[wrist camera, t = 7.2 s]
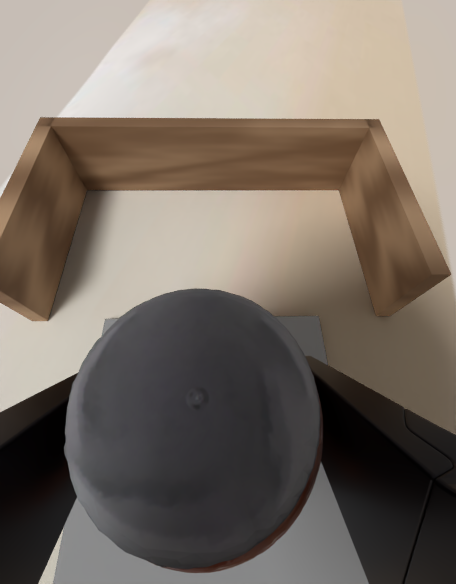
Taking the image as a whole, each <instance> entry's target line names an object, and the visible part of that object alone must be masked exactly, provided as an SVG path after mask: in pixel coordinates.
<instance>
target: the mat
mask: <svg viewBox="0 0 456 584" xmlns="http://www.w3.org/2000/svg"><path fill="white" fill-rule="evenodd" d="M274 317H275V318H276V319H278V320H279V321H280V323H281V324H283V325H284V326H285V327H286V328H287V329H288V330H289V332H290V333H291V335H292V336H293V337H294V339H295V340H296V341H297V343H298V345H299V347H300V348H301V350H302V351H303V353H304V355H305V356H312V357H314V358H316V359H317V360H319V361H321V362H323V363H325V364H326V365H328V362H327V357H326V352H325V346H324V341H323V336H322V331H321V325H320V320H319V316H274ZM117 320H118V319H105V322H104V327H103V332H102V336H103V334H104V333H105V332H106V331H107V330H108V329H109V328H110V327H111V326H112V325H113V324H114V323H115V322H116V321H117ZM53 584H369V583H368V580H367V578H366V575H365V573H364V570H363V568H362V565H361V562H360V560H359V557H358V555H357V552H356V550H355V547H354V545H353V542H352V539H351V537H350V534H349V532H348V529H347V527H346V524H345V522H344V519H343V516H342V514H341V511H340V509H339V506H338V504H337V501H336V499H335V496H334V493H333V491H332V488H331V486H330V483H329V481H328V478H327V476H326V473H325V470H324V468H323V465H322V463H320V467H319V471H318V474H317V478H316V481H315V484H314V487H313V489H312V492H311V494H310V496H309V498H308V500H307V502H306V504H305V506H304V507H303V509H302V511H301V513H300V515H299V516H298V517H297V519H296V520H295V522H294V523H293V524H292V526H291V527H290V528H289V529H288V531H287V532H286V533H285V534H284V535H283V536H282V537H281V538H280V539H278V540H277V541H276V542H275V544H273V545H272V546H271V547H270V548H269V549H267V550H266V551H265V552H263V553H261V554H259V555H258V556H256V557H255V558H253V559H251V560H249V561H247V562H245V563H243V564H240V565H238V566H235V567H233V568H230V569H226V570H222V571H217V572H211V573H185V572H180V571H174V570H170V569H166V568H162V567H160V566H156V565H154V564H152V563H150V562H148V561H146V560H144V559H141V558H139V557H136V556H133V555H131V554H128V553H126V552H124V551H123V550H122V549H120V548H119V547H118V546H117V545H116V544H115V543H114V542H113V541H112V540H111V539H109V538H108V537H107V536H106V535H104V534H103V533H102V532H100V531H99V530H98V529H97V527H96V526H95V524H94V523H93V521H92V520H91V519H90V517H89V516H88V514H87V512H86V510H85V508H84V507H83V506H82V504H81V503H80V502H79V501H78V498H77V499H76V501H75V503H74V505H73V507H72V510H71V512H70V514H69V516H68V518H67V521H66V523H65V525H64V530H63V535H62V540H61V545H60V550H59V555H58V561H57V566H56V571H55V576H54V581H53Z"/></svg>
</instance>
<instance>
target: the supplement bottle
mask: <svg viewBox="0 0 456 584" xmlns="http://www.w3.org/2000/svg"><path fill="white" fill-rule="evenodd" d="M65 436H66V443H65V446H64V453H65V457H66V459H67V461H68V467H69V472H70V478H71V481H72V484H73V487H74V490H75V493H76V495H77V498H78V501H79V502H80V503H81V504H82V506H83V507H84V508H85V510H86V512H87V514H88V516H89V517H90V519H91V520H92V521H93V523H94V524H95V526H96V527H97V529H98V530H99V531H100V532H102V533H103V534H104V535H106V536H107V537H108V538H109V539H111V540H112V541H113V542H114V543H115V544H116V545H117V546H118V547H119V548H120V549H122V550H123V551H124V552H126V553H128V554H131V555H133V556H136V557H139V558H141V559H144V560H146V561H148V562H150V563H152V564H154V565H156V566H160V567H162V568H166V569H170V570H174V571H180V572H185V573H211V572H217V571H222V570H226V569H230V568H233V567H235V566H238V565H240V564H243V563H245V562H247V561H249V560H251V559H253V558H255V557H256V556H258V555H259V554H261V553H263V552H265V551H266V550H267V549H269V548H270V547H271V546H272V545H273V544H275V542H276V541H277V540H278V539H280V538H281V537H282V536H283V535H284V534H285V533H286V532H287V531H288V529H289V528H290V527H291V526H292V524H293V523H294V522H295V520H296V519H297V517H298V516H299V515H300V513H301V511H302V509H303V507H304V506H305V504H306V502H307V500H308V498H309V496H310V494H311V492H312V489H313V487H314V484H315V481H316V478H317V474H318V471H319V467H320V463H321V457H322V449H323V415H322V409H321V403H320V399H319V395H318V392H317V388H316V384H315V380H314V376H313V374H312V371H311V369H310V366H309V363H308V361H307V359H306V357H305V355H304V353H303V351H302V350H301V348H300V347H299V345H298V343H297V341H296V340H295V339H294V337H293V336H292V335H291V333H290V332H289V330H288V329H287V328H286V327H285V326H284V325H283V324H281V323H280V321H279V320H278V319H276V318H275V317H274V316H273V315H272V314H271V313H270V312H268V311H267V310H265V309H263V308H262V307H261V306H259V305H258V304H256V303H254V302H253V301H251V300H249V299H246V298H244V297H241V296H239V295H235V294H231V293H228V292H224V291H221V290H209V289H187V290H178V291H174V292H170V293H166V294H163V295H160V296H157V297H155V298H152V299H150V300H149V301H146V302H144V303H142V304H140V305H138V306H136V307H134V308H133V309H131V310H130V311H128V312H127V313H126V314H124V315H123V316H121V317H120V318H119V319H118V320H117V321H116V322H115V323H114V324H113V325H112V326H111V327H110V328H109V329H108V330H107V331H106V332H105V333H104V334H103V336H102V337H101V338H100V339H98V340H97V341H96V343H95V344H94V346H93V347H92V349H91V350H90V351H89V353H88V355H87V357H86V358H85V360H84V361H83V363H82V365H81V368H80V370H79V372H78V375H77V377H76V379H75V380H74V382H73V384H72V389H71V393H70V396H69V402H68V406H67V415H66V426H65Z"/></svg>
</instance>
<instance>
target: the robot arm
mask: <svg viewBox="0 0 456 584" xmlns="http://www.w3.org/2000/svg"><path fill="white" fill-rule="evenodd" d="M305 357H306V359H307V361H308V363H309V366H310V369H311V371H312V374H313V376H314V380H315V384H316V388H317V392H318V395H319V399H320V403H321V409H322V415H323V449H322V457H321V463H322V465H323V468H324V470H325V473H326V476H327V478H328V481H329V483H330V486H331V488H332V491H333V493H334V496H335V499H336V501H337V504H338V506H339V509H340V511H341V514H342V516H343V519H344V522H345V524H346V527H347V529H348V532H349V534H350V537H351V539H352V542H353V545H354V547H355V550H356V552H357V555H358V557H359V560H360V562H361V565H362V568H363V570H364V573H365V575H366V578H367V580H368V583H369V584H456V435H455V434H453V433H451V432H449V431H447V430H445V429H443V428H441V427H439V426H437V425H435V424H433V423H432V422H430V421H428V420H426V419H424V418H422V417H420V416H419V415H417V414H415V413H413V412H411V411H410V410H408V409H404V407H402V406H400V405H399V404H397V403H395V402H393V401H391V400H390V399H388V398H386V397H384V396H382V395H381V394H379V393H377V392H375V391H373V390H372V389H370V388H368V387H366V386H364V385H363V384H361V383H359V382H357V381H355V380H354V379H352V378H350V377H348V376H346V375H344V374H343V373H341V372H339V371H337V370H335V369H334V368H332V367H330V366H328V365H326V364H325V363H323V362H321V361H319V360H317V359H316V358H314V357H312V356H305ZM77 375H78V373H77V374H75V375H73V376H71V377H69V378H67V379H65V380H63V381H61V382H59V383H57V384H55V385H53V386H51V387H49V388H47V389H45V390H43V391H41V392H39V393H37V394H35V395H33V396H31V397H30V398H28V399H26V400H24V401H22V402H20V403H18V404H16V405H14V406H12V407H10V408H8V409H6V410H4V411H2V412H0V584H38V583H39V580H40V578H41V576H42V574H43V572H44V569H45V567H46V565H47V563H48V560H49V558H50V556H51V554H52V552H53V549H54V547H55V545H56V543H57V541H58V538H59V536H60V534H61V532H62V530H63V527H64V525H65V523H66V521H67V518H68V516H69V514H70V512H71V510H72V507H73V505H74V503H75V501H76V499H77V495H76V493H75V490H74V487H73V484H72V481H71V478H70V472H69V467H68V461H67V459H66V457H65V453H64V446H65V443H66V436H65V426H66V415H67V406H68V402H69V396H70V393H71V389H72V384H73V382H74V380H75V379H76V377H77Z"/></svg>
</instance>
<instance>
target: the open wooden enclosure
mask: <svg viewBox="0 0 456 584" xmlns="http://www.w3.org/2000/svg"><path fill="white" fill-rule="evenodd" d="M87 190H339V192H340V195H341V198H342V202H343V205H344V209H345V212H346V215H347V219H348V222H349V226H350V229H351V232H352V236H353V239H354V243H355V246H356V250H357V253H358V256H359V260H360V263H361V267H362V270H363V273H364V277H365V280H366V284H367V287H368V290H369V294H370V297H371V301H372V304H373V307H374V311H375V314H376V316H391V315H392V314H394V313H395V312H397V311H398V310H400V309H401V308H403V307H404V306H406V305H407V304H409V303H410V302H411V301H413V300H414V299H416V298H417V297H419V296H420V295H422V294H423V293H425V292H426V291H428V290H429V289H431V288H432V287H434V286H435V285H436V284H438V283H439V282H441V281H442V280H444V279H445V278H447V277H448V276H450V275H451V273H450V271H449V268H448V266H447V264H446V262H445V260H444V258H443V256H442V253H441V251H440V249H439V247H438V245H437V243H436V240H435V238H434V236H433V234H432V232H431V230H430V228H429V225H428V223H427V221H426V219H425V217H424V215H423V213H422V210H421V208H420V206H419V204H418V202H417V200H416V198H415V195H414V193H413V191H412V189H411V187H410V185H409V183H408V180H407V178H406V176H405V174H404V172H403V170H402V167H401V165H400V163H399V161H398V159H397V157H396V155H395V152H394V150H393V148H392V146H391V144H390V142H389V140H388V137H387V135H386V133H385V131H384V129H383V127H382V125H381V122H380V120H379V119H218V118H45V117H44V118H40V119H39V121H38V123H37V125H36V127H35V129H34V131H33V133H32V135H31V137H30V139H29V141H28V143H27V145H26V147H25V149H24V151H23V154H22V155H21V158H20V160H19V161H18V164H17V166H16V168H15V170H14V172H13V174H12V176H11V178H10V180H9V182H8V184H7V186H6V188H5V190H4V192H3V194H2V196H1V198H0V303H2V304H4V305H5V306H7V307H9V308H11V309H12V310H14V311H16V312H18V313H19V314H21V315H23V316H24V317H26V318H28V319H30V320H31V321H48V319H49V315H50V312H51V309H52V305H53V302H54V299H55V295H56V292H57V289H58V285H59V282H60V279H61V275H62V272H63V268H64V265H65V262H66V258H67V255H68V252H69V248H70V245H71V242H72V238H73V235H74V232H75V228H76V225H77V222H78V218H79V215H80V212H81V208H82V205H83V202H84V198H85V195H86V192H87Z"/></svg>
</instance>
